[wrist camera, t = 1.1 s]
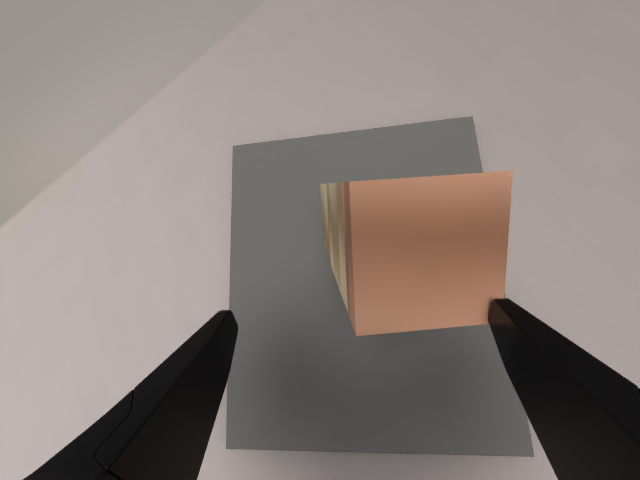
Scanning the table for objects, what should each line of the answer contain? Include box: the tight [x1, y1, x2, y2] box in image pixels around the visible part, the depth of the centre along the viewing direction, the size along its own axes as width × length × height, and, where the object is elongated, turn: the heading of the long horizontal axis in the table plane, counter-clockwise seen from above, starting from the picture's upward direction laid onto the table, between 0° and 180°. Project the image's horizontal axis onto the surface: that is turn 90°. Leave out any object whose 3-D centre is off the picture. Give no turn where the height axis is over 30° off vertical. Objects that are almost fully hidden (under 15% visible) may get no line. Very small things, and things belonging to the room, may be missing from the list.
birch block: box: [320, 171, 513, 336], centre depth 16 cm, size 5×5×14 cm
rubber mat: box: [226, 116, 534, 457], centre depth 23 cm, size 26×22×1 cm
